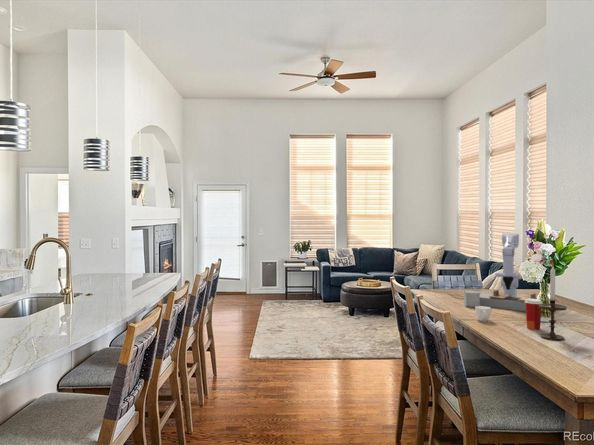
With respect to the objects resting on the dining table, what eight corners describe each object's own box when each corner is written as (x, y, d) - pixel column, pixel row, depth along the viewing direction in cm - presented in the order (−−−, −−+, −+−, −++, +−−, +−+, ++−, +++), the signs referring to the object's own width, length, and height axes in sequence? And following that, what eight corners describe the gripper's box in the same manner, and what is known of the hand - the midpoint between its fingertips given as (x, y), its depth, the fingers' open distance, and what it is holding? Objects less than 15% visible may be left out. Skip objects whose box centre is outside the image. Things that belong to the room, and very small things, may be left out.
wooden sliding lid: (497, 294, 286) (497, 288, 286) (510, 296, 280) (510, 290, 280) (489, 297, 274) (489, 291, 274) (502, 299, 269) (502, 293, 269)
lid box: (484, 301, 291) (484, 293, 291) (539, 308, 270) (539, 299, 270) (475, 304, 279) (475, 296, 279) (532, 312, 258) (532, 303, 258)
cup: (489, 319, 240) (489, 306, 240) (493, 323, 230) (493, 310, 230) (474, 318, 242) (474, 305, 242) (476, 322, 232) (476, 309, 232)
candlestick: (533, 334, 208) (534, 258, 208) (558, 335, 208) (558, 258, 207) (546, 341, 197) (546, 260, 197) (571, 341, 197) (572, 260, 196)
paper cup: (540, 327, 222) (541, 299, 222) (543, 331, 214) (544, 301, 214) (523, 326, 224) (523, 298, 224) (525, 329, 217) (525, 300, 217)
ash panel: (525, 297, 275) (525, 291, 275) (539, 299, 270) (539, 293, 270) (517, 301, 264) (517, 294, 264) (532, 302, 258) (532, 296, 258)
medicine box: (477, 305, 277) (477, 291, 277) (479, 307, 272) (479, 292, 272) (464, 305, 277) (464, 291, 277) (466, 307, 273) (466, 292, 273)
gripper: (493, 266, 276) (493, 288, 276) (519, 268, 266) (519, 291, 267) (497, 265, 281) (497, 287, 281) (522, 267, 272) (522, 290, 272)
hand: (508, 289), depth 274 cm, fingers closed
